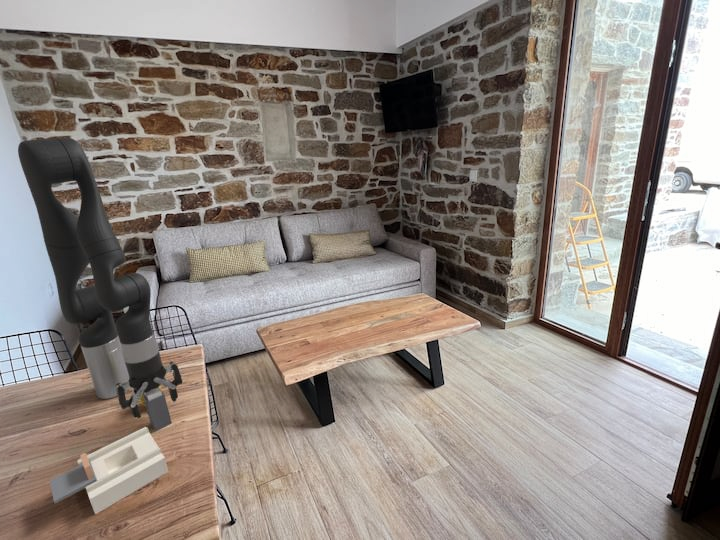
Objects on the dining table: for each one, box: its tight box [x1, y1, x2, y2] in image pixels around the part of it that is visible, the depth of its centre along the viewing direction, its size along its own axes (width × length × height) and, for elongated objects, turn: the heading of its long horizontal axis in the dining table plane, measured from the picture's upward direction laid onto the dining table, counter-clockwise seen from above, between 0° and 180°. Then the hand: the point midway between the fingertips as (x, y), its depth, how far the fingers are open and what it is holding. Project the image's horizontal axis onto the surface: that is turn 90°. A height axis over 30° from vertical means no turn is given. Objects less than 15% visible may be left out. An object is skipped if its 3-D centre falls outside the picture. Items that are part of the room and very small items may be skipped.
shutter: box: [49, 452, 97, 505], centre depth 76 cm, size 7×7×4 cm
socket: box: [77, 426, 169, 515], centre depth 83 cm, size 14×14×5 cm
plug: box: [143, 387, 173, 432], centre depth 97 cm, size 4×4×10 cm
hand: (156, 408), depth 96 cm, fingers open, 8 cm apart
